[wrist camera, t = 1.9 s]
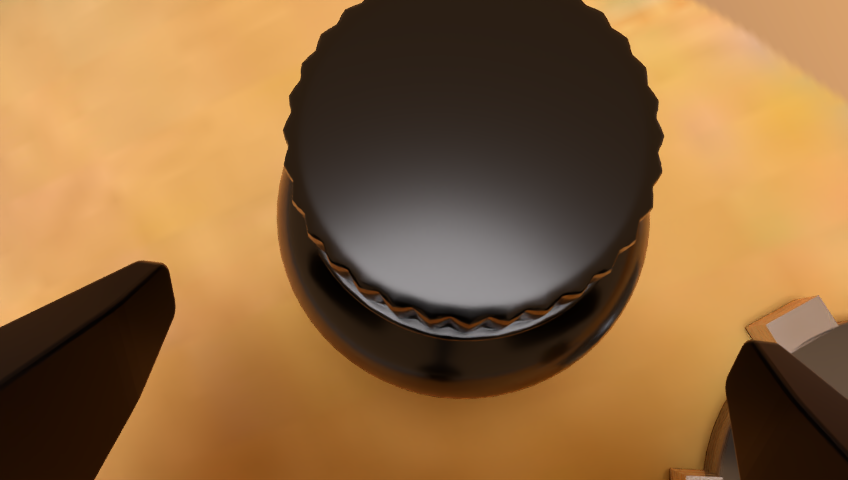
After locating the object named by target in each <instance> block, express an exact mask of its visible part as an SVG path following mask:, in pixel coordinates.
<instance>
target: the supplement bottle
mask: <svg viewBox="0 0 848 480" xmlns="http://www.w3.org/2000/svg"><path fill="white" fill-rule="evenodd" d="M289 102H290V108H291V114H290V116H289V118H288V119H287V121H286V124H285V126H284V129H283V133H284V137H285V140H286V143H287V145H288V150H287V153H286V157H285V162H284V167H283V172H282V176H281V180H280V185H279V193H278V201H277V228H278V240H279V246H280V251H281V257H282V260H283V264H284V267H285V271H286V274H287V277H288V279H289V282H290V284H291V287H292V289H293V291H294V293H295V295H296V297H297V299H298V301H299V303H300V305H301V307H302V308H303V310H304V311H305V313H306V314H307V316H308V317H309V319H310V320H311V322H312V323H313V324H314V326H315V327H316V328H317V329H318V331H319V332H320V333H321V334H322V335H323V337H324V338H325V339H326V340H327V341H328V342H329V343H330V344H331V345H332V346H333V347H334V348H335V349H336V350H338V351H339V352H340V353H341V354H342V355H344V356H345V357H346V358H347V359H349V360H350V361H351V362H352V363H354V364H355V365H357V366H359V367H360V368H362V369H363V370H365V371H366V372H368V373H369V374H371V375H373V376H375V377H377V378H379V379H381V380H383V381H385V382H387V383H390V384H392V385H395V386H397V387H400V388H402V389H406V390H408V391H412V392H415V393H419V394H423V395H429V396H434V397H440V398H453V399H477V398H485V397H493V396H499V395H503V394H507V393H512V392H516V391H519V390H522V389H525V388H528V387H531V386H534V385H536V384H538V383H540V382H543V381H545V380H547V379H549V378H551V377H553V376H555V375H557V374H558V373H560V372H562V371H563V370H565V369H567V368H569V367H570V366H571V365H573V364H574V363H575V362H577V361H578V360H579V359H581V358H582V357H583V356H585V355H586V354H587V353H588V352H589V351H590V350H591V349H592V348H593V347H595V346H596V345H597V344H598V343H599V342H600V340H601V339H602V338H603V337H604V336H605V335H606V334H607V333H608V332H609V330H610V329H611V328H612V326H613V325H614V324H615V322H616V321H617V320H618V318H619V317H620V315H621V314H622V312H623V310H624V309H625V307H626V305H627V303H628V302H629V300H630V298H631V296H632V294H633V291H634V289H635V287H636V285H637V282H638V280H639V276H640V273H641V270H642V267H643V264H644V260H645V255H646V251H647V246H648V238H649V228H650V211H651V210H652V208H653V186H654V185H655V184H656V183H657V181H658V179H659V177H660V176H661V174H662V167H661V162H660V158H659V154H658V151H659V148H660V147H661V145H662V142H663V138H664V134H663V132H662V129H661V127H660V125H659V123H658V121H657V119H656V116H657V111H658V103H659V101H658V99H657V98H656V96H655V94H654V93H653V92H652V90H651V89H650V88H649V86H648V81H647V71H646V67H645V66H644V65H643V64H642V63H641V62H640V61H639V60H638V59H637V58H636V57H634V56H633V55H632V52H631V49H630V44H629V42H628V39H627V38H626V37H625V36H624V35H622V34H621V33H619V32H618V31H616V30H614V29H613V28H611V26H610V24H609V22H608V20H607V18H606V16H605V15H604V13H603V12H601V11H599V10H597V9H595V8H592V7H589V6H587V5H585V4H584V3H583V2H582V0H364V1H363V2H362V3H360V4H358V5H355V6H352V7H350V8H348V9H346V10H345V11H344V12H343V14H342V15H341V17H340V20H339V22H338V23H337V25H335V26H333V27H332V28H330V29H328V30H327V31H325V32H324V33H322V34H321V36H320V38H319V41H318V44H317V48H316V51H315V52H314V53H312V54H311V55H310V56H309V57H308V58H307V59H306V60H305V61H304V62H303V63H302V67H301V79H300V81H299V83H298V84H297V85H296V86H295V88H294V89H293V91H292V92H291V94H290V95H289Z"/></svg>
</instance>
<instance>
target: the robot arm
mask: <svg viewBox="0 0 848 480" xmlns="http://www.w3.org/2000/svg"><path fill="white" fill-rule="evenodd" d="M174 314H175V298H174V293H173V288H172V283H171V278H170V273H169V270H168V268H167V266H166V265H165V264H163V263H159V262H151V261H137V262H135V263H132V264H130V265H128V266H126V267H124V268H122V269H120V270H118V271H116V272H114V273H112V274H110V275H108V276H106V277H103V278H101V279H99V280H97V281H95V282H93V283H91V284H89V285H87V286H85V287H83V288H81V289H79V290H77V291H74V292H72V293H70V294H68V295H66V296H64V297H62V298H60V299H58V300H56V301H54V302H52V303H50V304H48V305H45V306H43V307H41V308H39V309H37V310H35V311H33V312H31V313H29V314H27V315H25V316H23V317H21V318H19V319H16V320H14V321H12V322H10V323H8V324H6V325H4V326H2V327H0V480H94V479H95V477H96V476H97V474H98V472H99V470H100V468H101V467H102V465H103V463H104V461H105V460H106V458H107V456H108V454H109V452H110V451H111V449H112V447H113V445H114V444H115V442H116V440H117V438H118V436H119V435H120V433H121V431H122V429H123V427H124V426H125V424H126V422H127V420H128V419H129V417H130V415H131V413H132V411H133V409H134V408H135V406H136V404H137V402H138V400H139V398H140V396H141V394H142V391H143V389H144V387H145V385H146V382H147V380H148V378H149V375H150V373H151V370H152V368H153V366H154V363H155V361H156V358H157V356H158V354H159V351H160V349H161V347H162V344H163V342H164V339H165V337H166V335H167V332H168V330H169V327H170V325H171V323H172V320H173V318H174ZM725 391H726V398H727V404H728V410H729V416H730V422H731V428H732V434H733V440H734V446H735V452H736V458H737V464H738V470H739V475H740V480H848V399H847V398H846V397H844V396H843V395H842V394H841V393H839V392H838V391H837V390H836V389H835V388H833V387H832V386H831V385H830V384H828V383H827V382H826V381H825V380H823V379H822V378H821V377H820V376H818V375H817V374H816V373H815V372H813V371H812V370H811V369H810V368H808V367H807V366H806V365H805V364H803V363H802V362H801V361H800V360H798V359H797V358H796V357H795V356H793V355H792V354H791V353H790V352H788V351H787V350H786V349H785V348H783V347H782V346H781V345H779V344H778V343H775V342H770V341H762V340H754V339H752V340H748V341H746V342H745V343H744V345H743V346H742V348H741V350H740V352H739V354H738V356H737V358H736V360H735V362H734V364H733V366H732V368H731V370H730V372H729V374H728V376H727V380H726V386H725Z"/></svg>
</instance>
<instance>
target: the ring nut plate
mask: <svg viewBox="0 0 848 480" xmlns="http://www.w3.org/2000/svg"><path fill="white" fill-rule="evenodd" d="M745 328H746V329H747V331H748V333H749V334H750V336H751V337H752V339H754V340H762V341H770V342H775V343H778V344H779V345H781V346H782V347H783V348H785V349H786V350H787V351H788V352H790V353H791V354H792V355H793V356H795V357H796V358H797V359H798V360H800V361H801V362H802V363H803V364H805V365H806V366H807V367H808V368H810V369H811V370H812V371H813V372H815V373H816V374H817V375H818V376H820V377H821V378H822V379H823V380H825V381H826V382H827V383H828V384H830V385H831V386H832V387H833V388H835V389H836V390H837V391H838V392H839V393H841V394H842V395H843V396H844V397H846V398H847V399H848V321H843V322H836V321H835V319H834V318H833V316H832V315H831V313H830V312H829V310H828V309H827V307H826V306H825V304H824V303H823V301H822V300H821V298H820V297H819V295H818V296H813V297H807V298H802V299H797V300H794V301H792V302H790V303H788V304H787V305H785V306H783V307H781V308H779V309H778V310H776V311H774V312H772V313H770V314H769V315H767V316H765V317H763V318H761V319H759V320H758V321H756V322H754V323H752V324H750V325H749V326H747V327H745ZM670 480H740V475H739V470H738V464H737V458H736V452H735V446H734V440H733V434H732V428H731V422H730V416H729V410H728V404H727V401H726V402H725V404H724V405H723V408H722V410H721V412H720V414H719V417H718V419H717V421H716V423H715V426H714V428H713V432H712V435H711V439H710V442H709V446H708V449H707V454H706V460H705V467H704V470H691V469H670Z"/></svg>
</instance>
